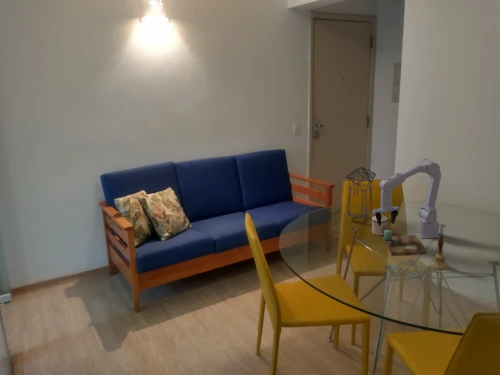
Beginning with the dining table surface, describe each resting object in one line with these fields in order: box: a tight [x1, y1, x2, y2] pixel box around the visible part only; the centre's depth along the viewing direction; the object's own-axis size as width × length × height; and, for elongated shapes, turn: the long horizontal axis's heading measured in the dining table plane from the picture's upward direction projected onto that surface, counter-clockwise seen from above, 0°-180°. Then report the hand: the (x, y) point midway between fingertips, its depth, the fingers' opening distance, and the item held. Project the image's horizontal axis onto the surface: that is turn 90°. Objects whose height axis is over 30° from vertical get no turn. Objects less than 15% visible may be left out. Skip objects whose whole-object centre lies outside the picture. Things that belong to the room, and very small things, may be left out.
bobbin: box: [383, 229, 393, 241], centre depth 240 cm, size 4×4×5 cm
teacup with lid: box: [371, 214, 389, 236], centre depth 253 cm, size 12×9×12 cm
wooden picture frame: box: [382, 234, 427, 256], centre depth 235 cm, size 18×20×2 cm
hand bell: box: [429, 235, 449, 270], centre depth 210 cm, size 8×8×16 cm
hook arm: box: [391, 238, 401, 247], centre depth 232 cm, size 5×1×6 cm, turn 86°
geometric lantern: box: [345, 166, 377, 220], centre depth 269 cm, size 16×16×35 cm
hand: (385, 224), depth 239 cm, fingers open, 7 cm apart
